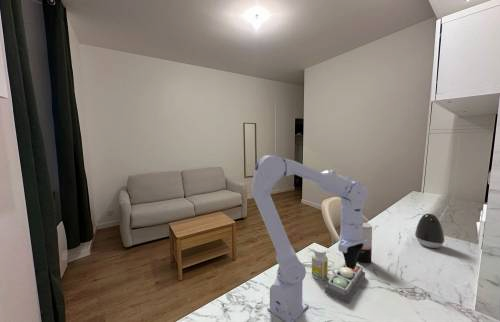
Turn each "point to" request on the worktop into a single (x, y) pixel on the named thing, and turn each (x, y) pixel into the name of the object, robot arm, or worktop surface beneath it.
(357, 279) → the tray of pastel eggs
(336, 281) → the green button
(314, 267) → the supplement bottle
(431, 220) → the dark egg shaped speaker
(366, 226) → the grey black container
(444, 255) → the worktop surface
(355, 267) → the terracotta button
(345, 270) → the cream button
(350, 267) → the robot arm
